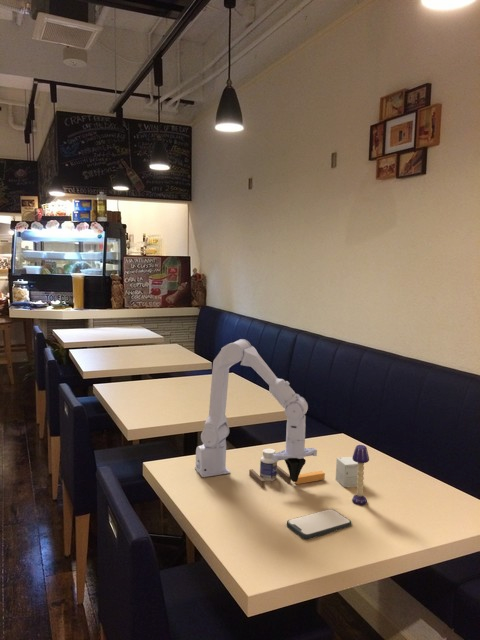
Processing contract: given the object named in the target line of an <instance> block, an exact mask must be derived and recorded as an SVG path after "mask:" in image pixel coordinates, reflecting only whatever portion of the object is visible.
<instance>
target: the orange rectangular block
mask: <svg viewBox="0 0 480 640" xmlns="http://www.w3.org/2000/svg"><path fill="white" fill-rule="evenodd" d="M325 475H326V473H325V472H324V471H323V470H317V471H313V472H307V473H306V472H305V473H300V474H299V477H298V480H297V482H294V484H295V485H300V484H305V483H310V482H311V483H312V482H316V481H323V480H325Z"/></svg>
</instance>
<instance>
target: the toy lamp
mask: <svg viewBox="0 0 480 640" xmlns="http://www.w3.org/2000/svg"><path fill="white" fill-rule="evenodd" d="M352 457H353V458H352V459H353V461H355V462H358V472H357V474H358V476H357V480H358V481H357V485H358V486H356V494H355V495H354V496H352V499H351V501H352V503H353V504H354V505H358V506H365V505H367V504H368V499H367V497H366V496H365V495H364V491H363V490H364V479H365V477H364V474H365V472H364V470H365V466H364V465H365V463H368V462H369V461H370V456H369V452H368V448H367V446H366V445H363V444H358V445H356V446H355V449H354V451H353V453H352Z"/></svg>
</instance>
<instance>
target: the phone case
mask: <svg viewBox="0 0 480 640" xmlns="http://www.w3.org/2000/svg"><path fill="white" fill-rule="evenodd" d="M351 526H352V520H351V519H349V518H347V517H346V516H344V515H343V514H341V513H340V512H338V511H336V510H335V509H333V508H328V509H325V510H324V509H323V510H321V511H317V512H313V513H310V514H306V515H303V516H298V517H294V518H290V519H288V520H286V527H287V528H288V529H289V530H291V531H292V532H294V534H296V535H297V536H299V537H300V538H301V539H302V540H305V541H306V540H307V541H308V540H312V539H315V538H318V537H321V536H324V535H328V534H330V533H334V532H337V531H339V530H343V529H345V528H349V527H351ZM327 533H328V534H327Z"/></svg>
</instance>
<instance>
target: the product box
mask: <svg viewBox="0 0 480 640" xmlns="http://www.w3.org/2000/svg"><path fill="white" fill-rule="evenodd" d="M352 458H353V456H342V457H336V465H335V466H336V467H335V481H337V482H338V483H339V484H340V485H341V486H342V487H343V488H351V487H357V486H358V485H357V481H358V480H357V476H358V474H357V472H358V462H355V461H353V459H352Z"/></svg>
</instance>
